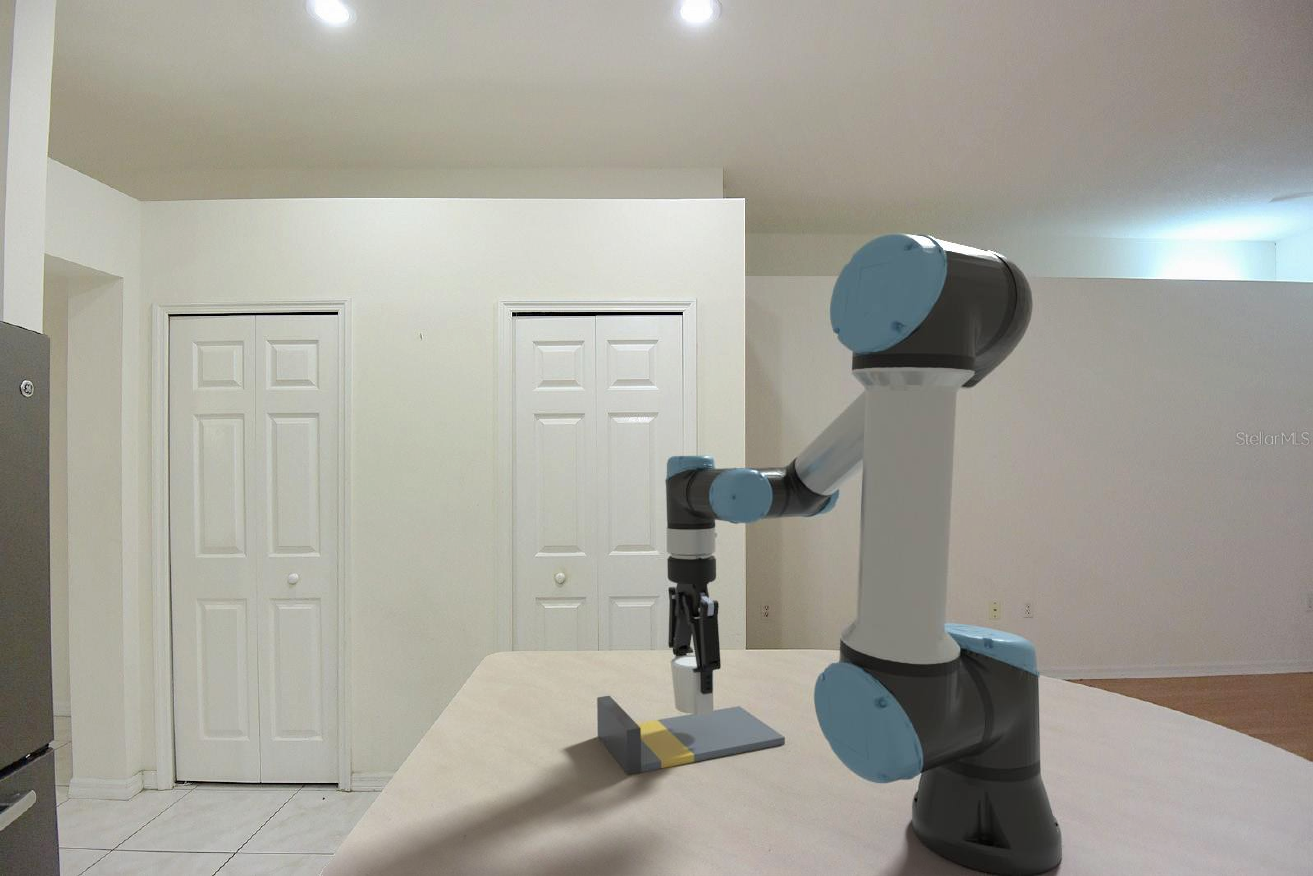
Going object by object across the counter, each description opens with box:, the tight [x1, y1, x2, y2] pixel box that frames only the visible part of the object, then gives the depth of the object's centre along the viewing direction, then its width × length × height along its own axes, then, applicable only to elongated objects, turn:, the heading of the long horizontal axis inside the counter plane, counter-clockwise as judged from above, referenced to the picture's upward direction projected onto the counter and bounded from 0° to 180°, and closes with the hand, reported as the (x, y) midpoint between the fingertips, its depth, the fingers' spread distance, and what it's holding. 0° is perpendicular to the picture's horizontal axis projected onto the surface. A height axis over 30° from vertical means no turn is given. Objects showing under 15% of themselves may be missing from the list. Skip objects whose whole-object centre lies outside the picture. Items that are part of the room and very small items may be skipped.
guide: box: [596, 695, 786, 775], centre depth 103 cm, size 14×25×6 cm, turn 112°
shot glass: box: [670, 654, 716, 715], centre depth 104 cm, size 7×7×7 cm
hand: (693, 705), depth 104 cm, fingers closed on shot glass, 7 cm apart
